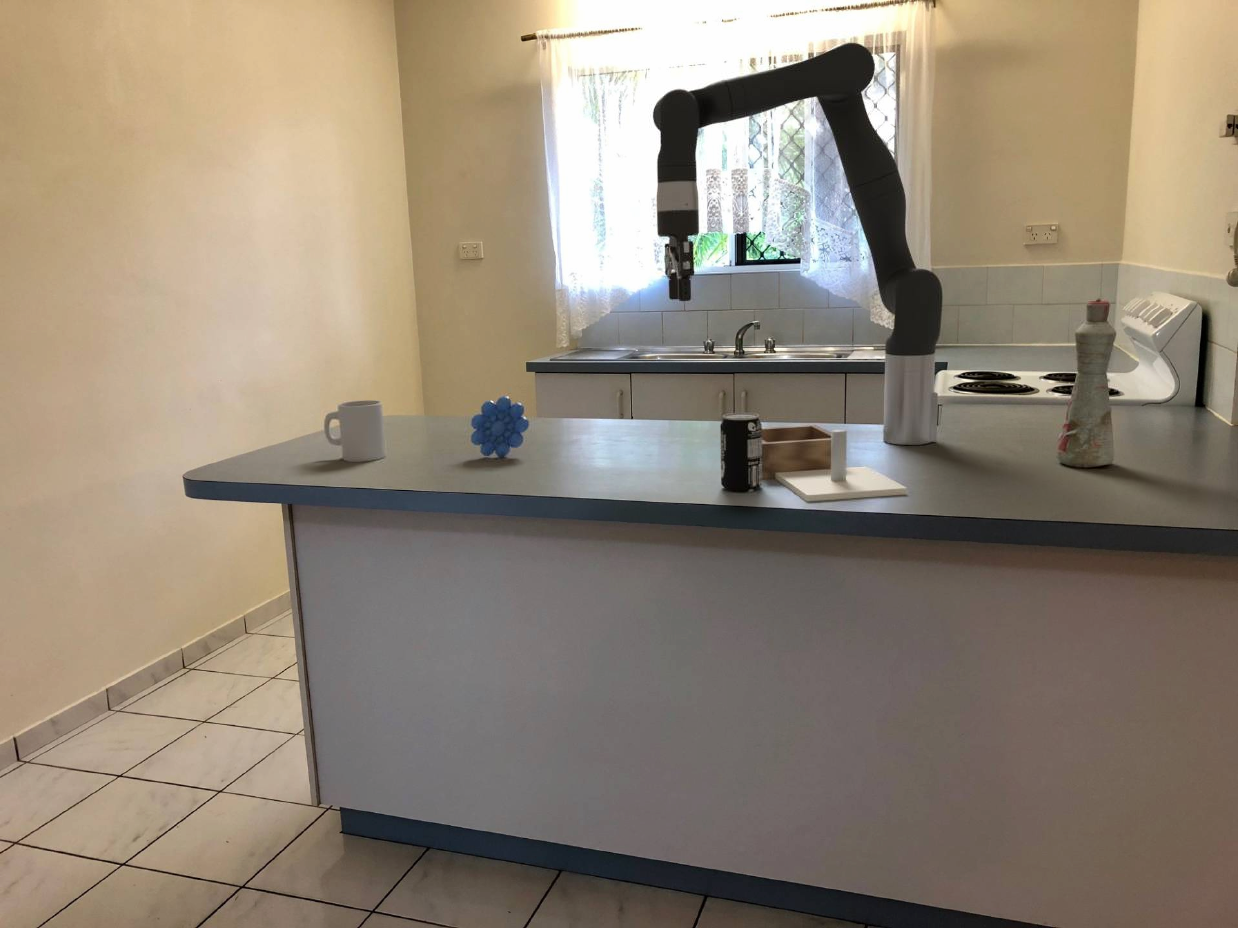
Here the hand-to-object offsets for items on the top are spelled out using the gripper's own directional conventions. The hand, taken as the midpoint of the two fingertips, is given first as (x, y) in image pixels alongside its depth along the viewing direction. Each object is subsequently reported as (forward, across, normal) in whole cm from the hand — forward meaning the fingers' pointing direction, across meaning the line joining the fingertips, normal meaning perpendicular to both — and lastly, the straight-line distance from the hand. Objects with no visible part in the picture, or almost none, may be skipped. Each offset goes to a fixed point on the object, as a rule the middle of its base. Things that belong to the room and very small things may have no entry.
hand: (679, 300), depth 175 cm
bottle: (+30, -28, -64) cm, 76 cm away
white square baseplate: (+29, -31, -19) cm, 47 cm away
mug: (+30, +19, +63) cm, 72 cm away
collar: (+29, -15, -16) cm, 37 cm away
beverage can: (+30, -28, -4) cm, 41 cm away
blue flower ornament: (+30, +11, +34) cm, 46 cm away
